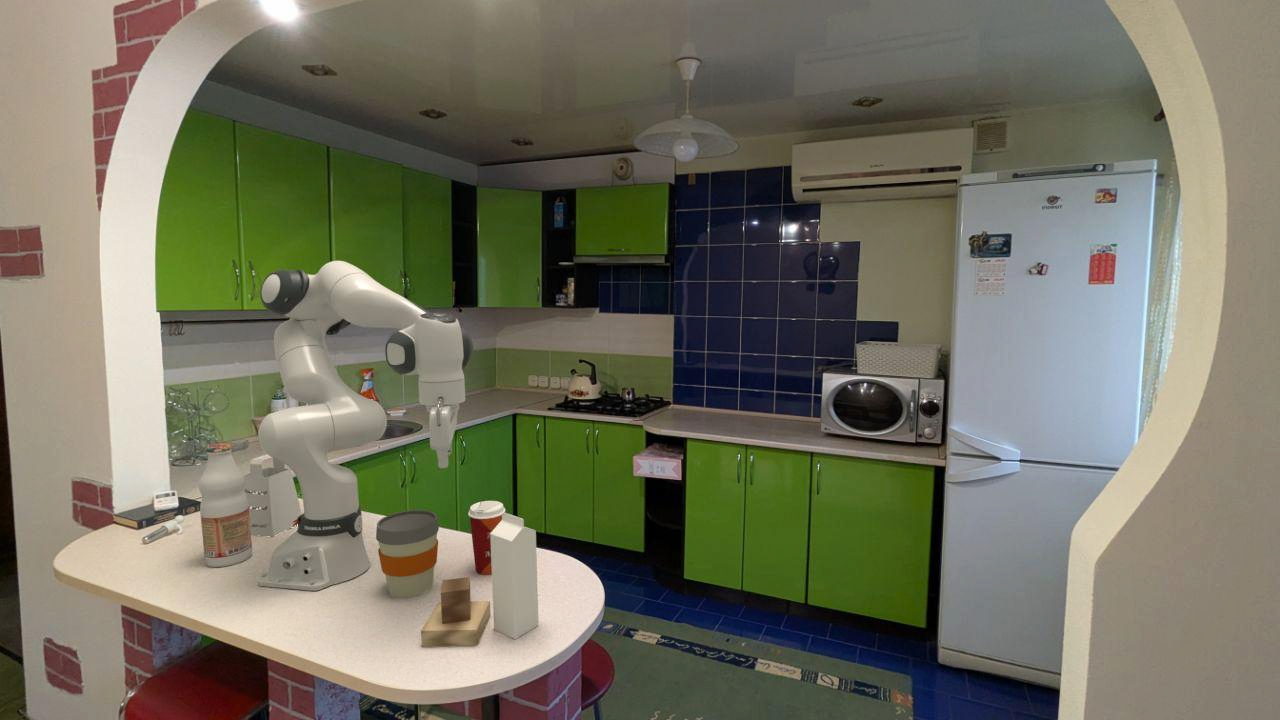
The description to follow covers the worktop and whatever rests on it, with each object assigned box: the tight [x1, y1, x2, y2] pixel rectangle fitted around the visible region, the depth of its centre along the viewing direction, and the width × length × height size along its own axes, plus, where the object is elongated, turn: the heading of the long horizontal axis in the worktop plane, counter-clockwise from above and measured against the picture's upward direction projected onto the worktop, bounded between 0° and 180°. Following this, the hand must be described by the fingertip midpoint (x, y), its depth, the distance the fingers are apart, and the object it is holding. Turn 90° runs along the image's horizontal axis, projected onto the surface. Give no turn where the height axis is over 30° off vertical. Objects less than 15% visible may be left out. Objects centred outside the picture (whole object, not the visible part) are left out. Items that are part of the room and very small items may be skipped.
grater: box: [244, 453, 303, 538], centre depth 160 cm, size 10×10×20 cm
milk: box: [490, 512, 539, 640], centre depth 111 cm, size 6×6×22 cm
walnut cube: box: [440, 576, 472, 624], centre depth 111 cm, size 5×5×6 cm
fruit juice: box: [198, 442, 253, 568], centre depth 141 cm, size 9×9×28 cm
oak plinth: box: [420, 600, 491, 647], centre depth 111 cm, size 10×10×3 cm
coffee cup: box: [467, 500, 506, 576], centre depth 135 cm, size 8×8×15 cm
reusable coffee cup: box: [375, 509, 440, 598], centre depth 127 cm, size 13×13×15 cm
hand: (445, 460), depth 121 cm, fingers open, 8 cm apart
